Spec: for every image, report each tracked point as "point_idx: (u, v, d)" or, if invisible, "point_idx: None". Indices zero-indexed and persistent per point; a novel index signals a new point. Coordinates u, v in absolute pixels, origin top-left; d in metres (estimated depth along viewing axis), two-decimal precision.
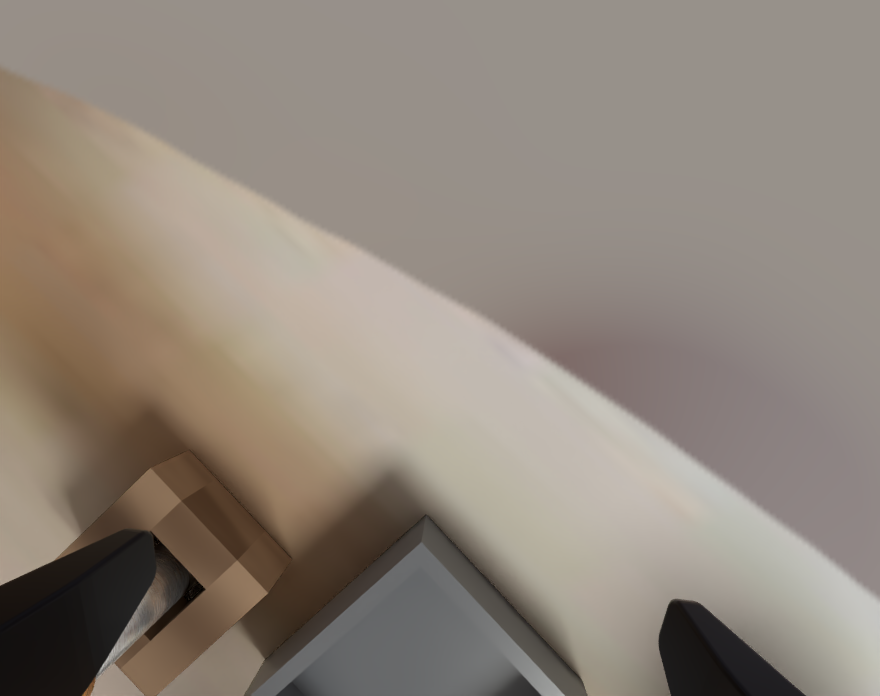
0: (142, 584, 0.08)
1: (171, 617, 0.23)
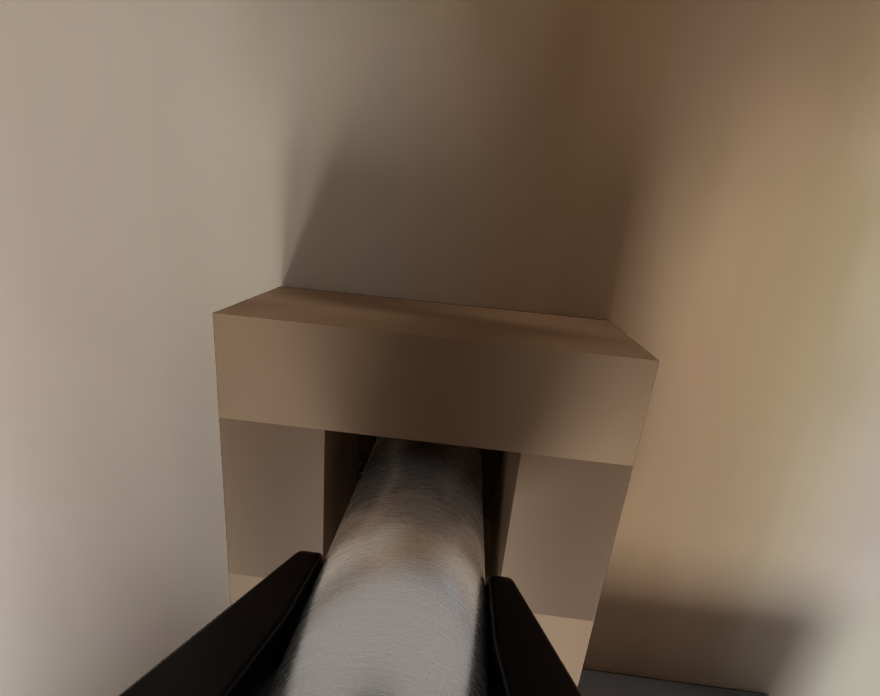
0: None
1: None
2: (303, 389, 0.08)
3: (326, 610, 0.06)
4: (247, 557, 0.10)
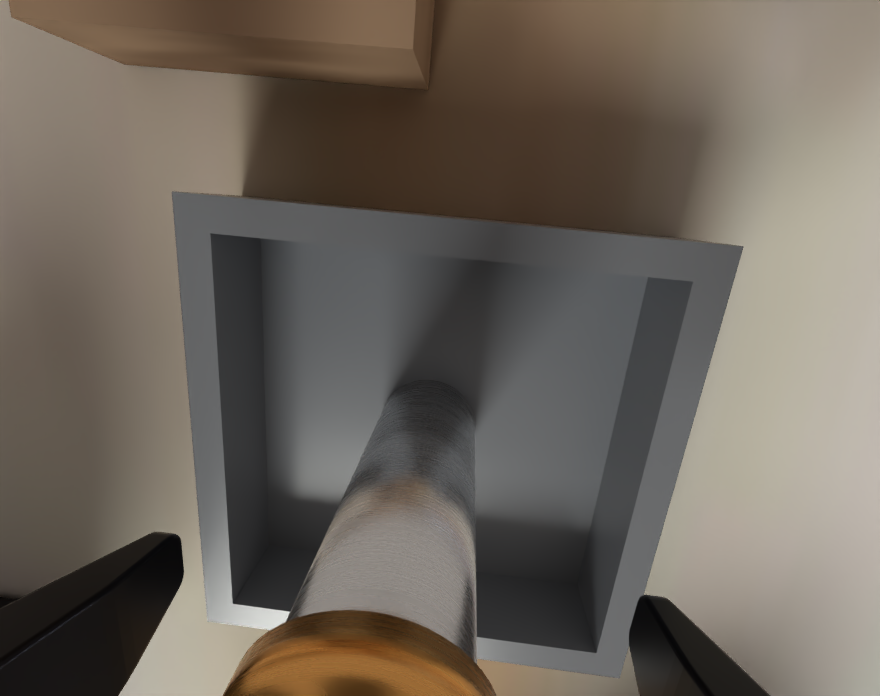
0: (171, 588, 0.08)
1: None
2: None
3: (345, 529, 0.07)
4: None
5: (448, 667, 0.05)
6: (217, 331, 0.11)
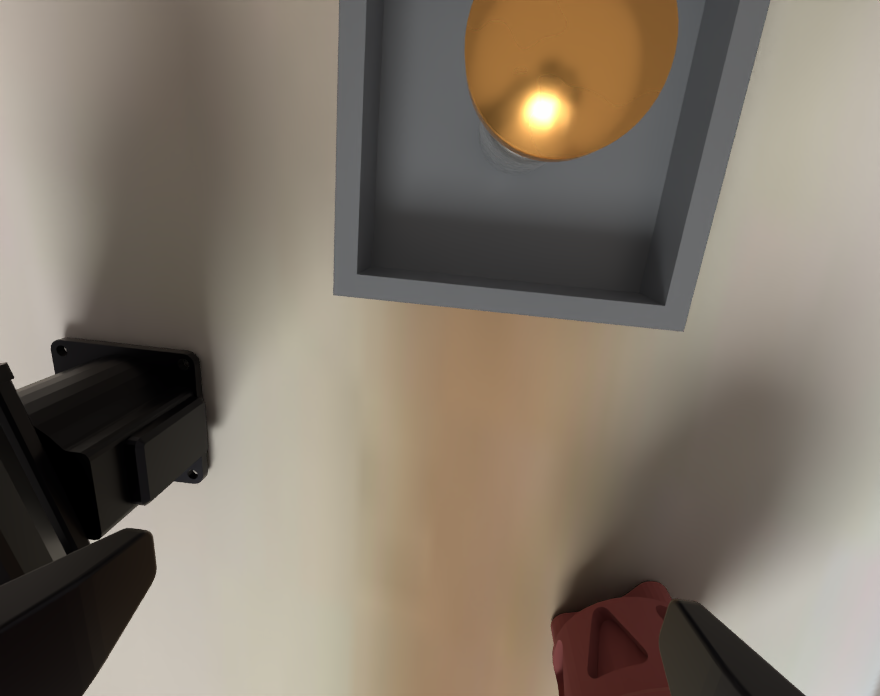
0: (142, 584, 0.08)
1: None
2: None
3: None
4: None
5: None
6: None
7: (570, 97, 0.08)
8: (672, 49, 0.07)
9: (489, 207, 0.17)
